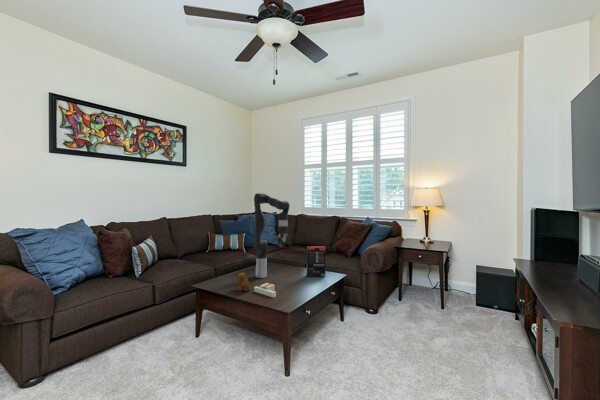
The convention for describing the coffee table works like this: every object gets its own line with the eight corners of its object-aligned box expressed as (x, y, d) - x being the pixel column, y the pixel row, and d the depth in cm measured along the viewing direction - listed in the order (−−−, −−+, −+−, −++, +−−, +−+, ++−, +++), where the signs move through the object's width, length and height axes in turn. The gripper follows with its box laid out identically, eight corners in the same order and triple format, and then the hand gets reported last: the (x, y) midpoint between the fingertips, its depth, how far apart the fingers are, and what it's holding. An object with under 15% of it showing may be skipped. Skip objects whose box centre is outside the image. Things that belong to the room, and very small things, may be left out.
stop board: (254, 291, 215) (254, 287, 215) (256, 290, 217) (256, 286, 217) (273, 297, 203) (273, 292, 203) (275, 296, 205) (275, 291, 205)
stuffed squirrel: (243, 286, 227) (243, 270, 227) (254, 290, 217) (254, 273, 217) (233, 289, 220) (233, 272, 220) (243, 293, 210) (243, 276, 210)
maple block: (259, 291, 215) (259, 285, 215) (267, 289, 221) (267, 282, 221) (267, 294, 210) (267, 287, 210) (274, 291, 216) (274, 284, 216)
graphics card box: (324, 274, 260) (324, 245, 259) (325, 276, 253) (326, 246, 252) (306, 275, 258) (306, 245, 257) (307, 277, 251) (307, 247, 251)
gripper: (284, 224, 237) (284, 244, 238) (274, 225, 227) (274, 246, 227) (291, 224, 233) (291, 245, 233) (281, 226, 222) (281, 248, 223)
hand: (283, 246), depth 230 cm, fingers closed
